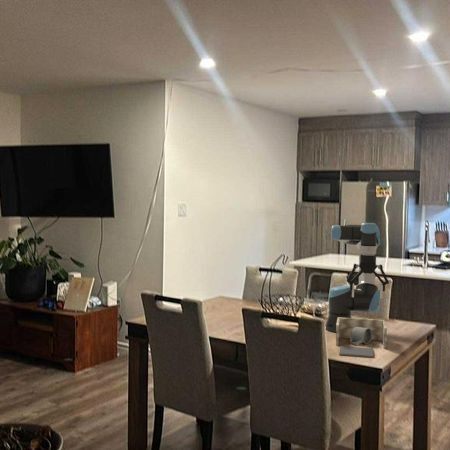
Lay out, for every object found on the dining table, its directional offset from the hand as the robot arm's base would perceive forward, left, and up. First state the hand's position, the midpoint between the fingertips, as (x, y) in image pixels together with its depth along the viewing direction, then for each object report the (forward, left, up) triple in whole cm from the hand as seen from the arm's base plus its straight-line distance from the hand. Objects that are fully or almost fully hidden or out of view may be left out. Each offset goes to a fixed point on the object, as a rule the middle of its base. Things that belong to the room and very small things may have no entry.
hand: (367, 297), depth 279 cm
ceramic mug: (-3, -3, -22) cm, 23 cm away
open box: (-2, -2, -22) cm, 22 cm away
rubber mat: (-4, -21, -22) cm, 31 cm away
